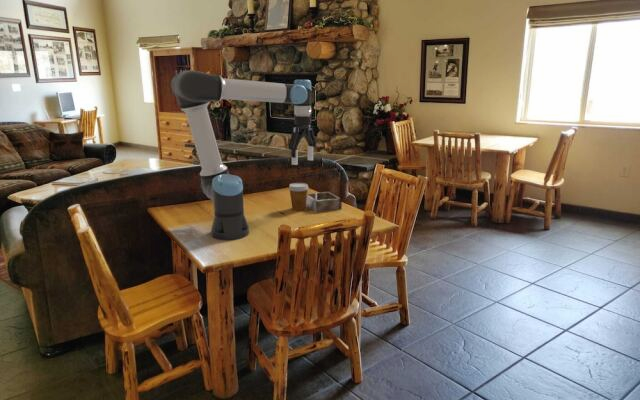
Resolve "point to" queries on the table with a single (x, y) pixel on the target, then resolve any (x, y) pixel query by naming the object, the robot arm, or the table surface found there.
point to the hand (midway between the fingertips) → (302, 162)
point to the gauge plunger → (311, 202)
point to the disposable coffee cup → (298, 196)
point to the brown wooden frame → (327, 201)
